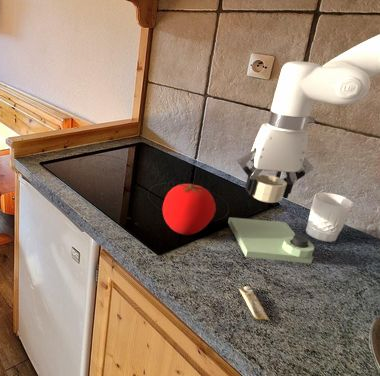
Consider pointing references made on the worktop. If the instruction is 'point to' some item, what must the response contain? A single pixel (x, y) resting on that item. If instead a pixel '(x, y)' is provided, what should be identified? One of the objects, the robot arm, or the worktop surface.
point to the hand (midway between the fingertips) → (266, 193)
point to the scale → (269, 240)
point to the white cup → (328, 216)
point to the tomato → (188, 208)
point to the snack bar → (253, 303)
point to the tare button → (299, 241)
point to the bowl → (269, 188)
